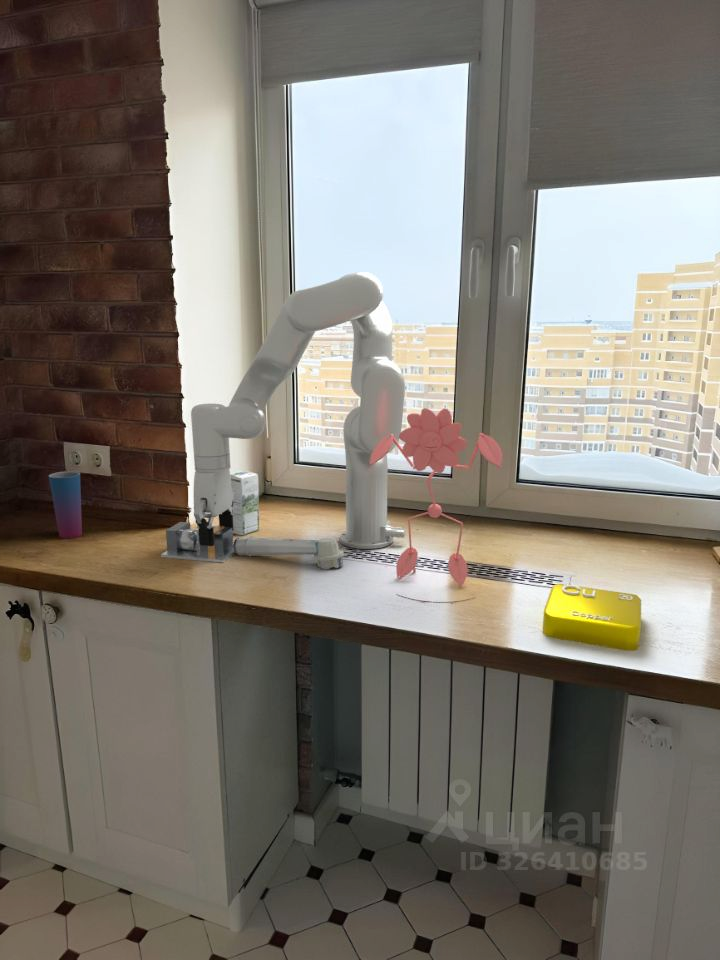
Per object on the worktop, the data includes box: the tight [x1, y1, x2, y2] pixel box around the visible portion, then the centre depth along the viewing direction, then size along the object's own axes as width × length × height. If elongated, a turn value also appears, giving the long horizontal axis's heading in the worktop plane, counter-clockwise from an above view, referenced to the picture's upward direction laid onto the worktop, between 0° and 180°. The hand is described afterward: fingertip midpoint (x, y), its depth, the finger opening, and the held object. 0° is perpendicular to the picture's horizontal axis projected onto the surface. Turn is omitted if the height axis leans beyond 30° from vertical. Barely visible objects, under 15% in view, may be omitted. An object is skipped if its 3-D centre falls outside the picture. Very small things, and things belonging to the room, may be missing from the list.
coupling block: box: [200, 525, 234, 557], centre depth 149 cm, size 6×5×5 cm
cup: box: [48, 470, 83, 539], centre depth 161 cm, size 7×7×15 cm
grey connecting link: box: [233, 535, 345, 570], centre depth 145 cm, size 5×7×25 cm
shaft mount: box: [160, 521, 236, 564], centre depth 150 cm, size 15×9×6 cm, turn 76°
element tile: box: [542, 583, 642, 652], centre depth 115 cm, size 15×15×5 cm
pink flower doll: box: [370, 407, 503, 605], centre depth 127 cm, size 15×26×35 cm, turn 70°
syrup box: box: [230, 470, 260, 536], centre depth 164 cm, size 6×6×14 cm
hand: (217, 538), depth 149 cm, fingers open, 9 cm apart
